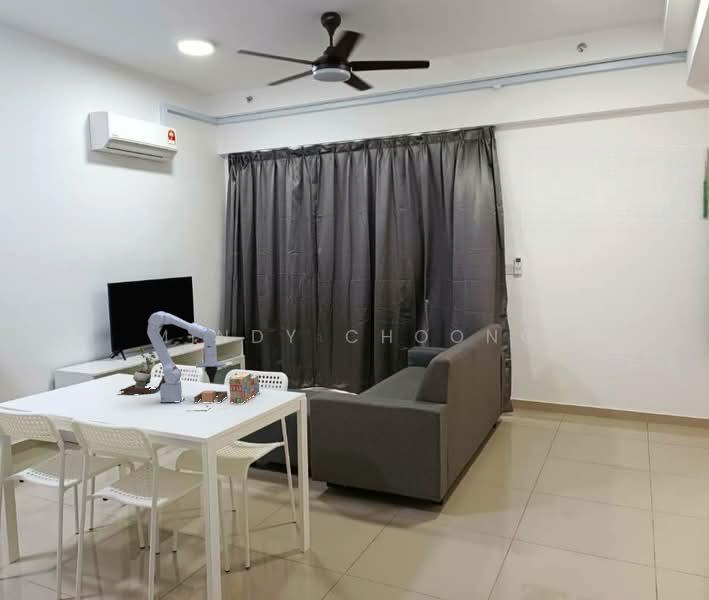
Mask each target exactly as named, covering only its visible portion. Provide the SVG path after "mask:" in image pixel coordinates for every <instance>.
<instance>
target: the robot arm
mask: <svg viewBox="0 0 709 600" xmlns="http://www.w3.org/2000/svg"><path fill="white" fill-rule="evenodd" d="M148 318H149V319H148V320H147V323H148V325H147V331H146V333H147V336H148V338H149V340H150V342H151V344H152V347H153V349H154V351H155V353H156V355H157V357H158V359H159V362H160V364H161V367H162V373H163V376H164V380H165V383H163V384H162V385H161V387H160V388H159V392H160V393H159V396H160V402H175V401H180V400H182V398H183V393H182V391H183V390H182V381H181V380H180V379H181V377H182V371H181V369H180V368H178V367H177V364H176V363H175V362H173V359H172V357H171V355H170V352H169V351H168V349H167V346H166V343H165V342H164V339H163V338H162V336H161V334H160V332H161V330H162V328H163V326H164V325H174V326H177V327H179V328H181V329H185V330H187V332H188V334H190V335H192V336H193V337H197V338H199V339H202V340H203V342H204V343H203V348H204V349H203V352H204V353H203V354H204V362H200V363H199V362H198V363H196V364H195V368H196V369H198V368H202V369H203V368H204V372H205V373H206V375H207V377H208V380H209V383H214V382H215V377H216V375H217V371H218V369H219V368H227V362H219V361H218V356H217V352H218V351H217V341H216V338H217V333H216V330H214V329H213V328H209V327H208V326H202V325H200V323H199V322H192V323H190V322H187V321H186V320H183V319H182V318H180V317H178V316H176V315H173V314H171V313H168V312H165V311H163V310H162V311H161V310H160V311H157V312H154V313H152V314H151V315H150V317H148Z"/></svg>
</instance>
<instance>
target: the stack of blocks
mask: <svg viewBox="0 0 709 600" xmlns="http://www.w3.org/2000/svg"><path fill="white" fill-rule="evenodd" d="M258 392H259V393H260V381H259V375H257V374H256V375H255V374H252V373H250V372H249V373H248V372H239V373H237V374H236V375H234V376H231V377H230V378H229V393H230V394H229V396H230V399H229V402H230V403H231V402H233V403H243V402H244V401H246V400H247V399H249V398H250V397H252V396H253V395H255V394H257V393H258ZM259 393H258V394H259ZM258 394H257V395H258ZM255 396H256V395H255ZM252 398H253V397H252ZM246 402H247V401H246ZM243 404H244V403H243Z"/></svg>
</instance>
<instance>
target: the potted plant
mask: <svg viewBox="0 0 709 600" xmlns="http://www.w3.org/2000/svg"><path fill="white" fill-rule="evenodd" d="M135 350H136V353H141V354H140V356H142V358H145V361H142V362H141V364H140V369H139V370H135V372H134V373H133V377H132V379H133V381H134V382H135V384H131V385H129V386H126V387H125V388H121V389H120V390H119V392H121V393H122V392H124V393H125V394H128V395H131V396H132V394H139V395H143V394H148V393H149V394H152V393H155V392H156V390H157V389H160V387H161V385H162V384H163V383H165V380H164V375H163V376H162V378H161V379H160V382H159V383H158V385H157V386H156V388H157V389H150V388H151V387H149V388H145V386H147V385H149V384H150V383H151V379H152V374H151V371H152V368H151V365H153V362H152V361H153V359H155V358H156V355H155V354H154V352H152V351H148V356H146V355H145V354H144V352H145V349H144V348H141V347H137V348H136V349H135ZM152 358H153V359H152ZM143 368H144V370H143ZM149 389H150V390H149ZM142 393H143V394H142Z"/></svg>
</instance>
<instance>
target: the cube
mask: <svg viewBox="0 0 709 600" xmlns="http://www.w3.org/2000/svg"><path fill="white" fill-rule="evenodd" d="M216 391H217V390H204V392H203V391H202V392H203V393H202V400H201V403H202V402H213V401H214V400H215V399H216V400H217V398H216ZM213 403H214V402H213Z"/></svg>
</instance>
